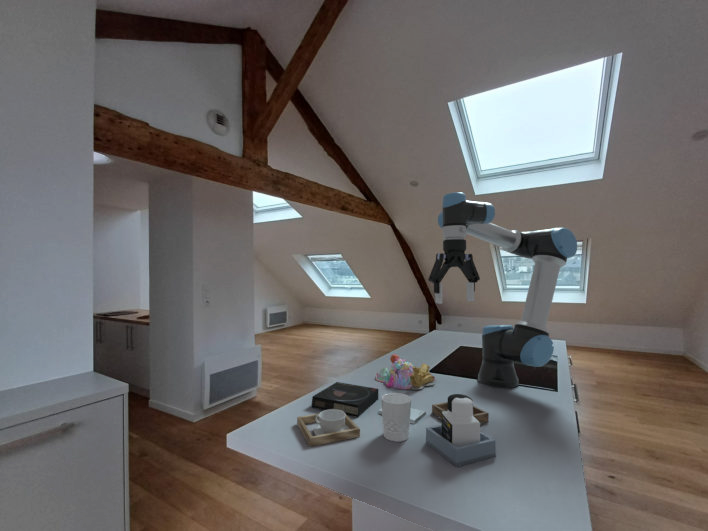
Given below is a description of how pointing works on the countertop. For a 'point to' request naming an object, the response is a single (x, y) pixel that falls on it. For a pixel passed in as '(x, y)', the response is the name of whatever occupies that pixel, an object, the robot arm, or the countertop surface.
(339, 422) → the teacup
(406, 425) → the white cup
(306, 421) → the oak cup rest
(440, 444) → the grey tray
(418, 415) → the hard drive
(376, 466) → the countertop surface
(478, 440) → the medicine bottle
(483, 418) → the walnut holder
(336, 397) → the portable cd player
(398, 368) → the candy landscape model
